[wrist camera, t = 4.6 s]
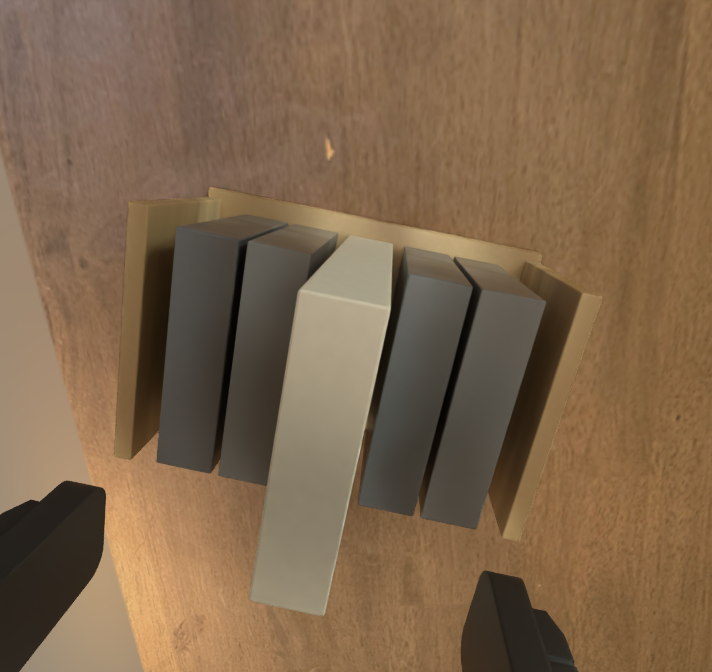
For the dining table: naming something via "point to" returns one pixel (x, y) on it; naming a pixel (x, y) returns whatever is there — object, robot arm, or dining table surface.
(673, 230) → the dining table surface
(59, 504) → the robot arm
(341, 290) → the white book
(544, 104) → the dining table surface
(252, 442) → the grey rack
